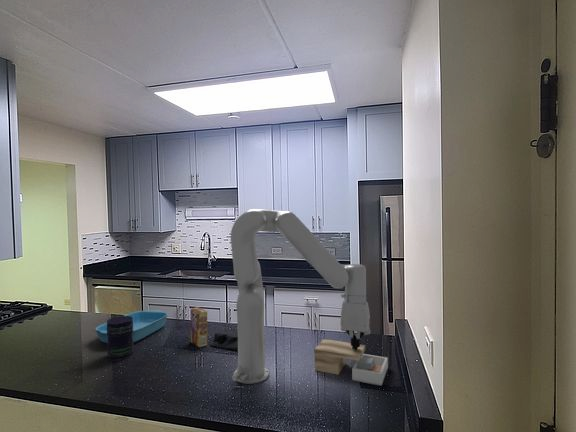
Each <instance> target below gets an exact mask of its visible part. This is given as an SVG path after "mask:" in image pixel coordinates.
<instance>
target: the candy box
mask: <svg viewBox="0 0 576 432" xmlns="http://www.w3.org/2000/svg"><path fill="white" fill-rule="evenodd" d="M190 342H191V344H193V345H195V346H196V347H198V348H202V347H206V346H207V347H208V311H207V310H205V309H203V308H201V307H193V308H190Z"/></svg>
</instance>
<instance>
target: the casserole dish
mask: <svg viewBox="0 0 576 432" xmlns="http://www.w3.org/2000/svg"><path fill="white" fill-rule="evenodd" d="M168 315H169V314H168V312H165V311H162V310H156V309H155V310H154V309H153V310H152V309H151V310H138V311H134V312H133V311H132V312H130V313H128V314H125V315H123V316H131V317H133V320H132V321H133V332H132V339H133V344H134V343H136V342H138V341H140V340H142V339H144V338H146V337H147V336H150V335H151V334H153V333H155V332H157V331H158V330H160V329H162V328H163V327H164V325H165V323H166V321H167V318H168ZM95 332H96V335H97V337H98V339H99V341H101V342H103V343H105V344H108V335H107V322H104V323H102V324H100V325H98V326H97V327H95Z"/></svg>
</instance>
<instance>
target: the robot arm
mask: <svg viewBox="0 0 576 432" xmlns="http://www.w3.org/2000/svg"><path fill="white" fill-rule="evenodd" d="M259 232H263V233H264V232H265V233H279V234H281V236H282V237H283V238H284V239H285V240H286V241H287V242H288V243H289V244H290V245H291V247H292V248H294V250H295V251H296V252H297V253H298V254H299V255H300V256H301V257H302V258H303V260H305V261H306V262H308V263H309V264H310V265H311V267H313V268H314V270H316V271H317V272H318V273H319V274H320V276H321V277H322V278H323V279H324V280H325V281H326V283H328V284H329V285H330V286H331V287H332V288H334V289H343V288H344V293H341V295H340V296H341V298H343V299H344V300H343V301H342V303H341V304H342V305H341V311H340V312H341V313H340V330H341V331H342V332H344V333H347V335H348V336H349V338H350V343H351V346H352V349H355V350H357V349H358V347H360V345H361V338H362V337H363V336H367V335H368V336H369V335H370V334H371V329H370V327H371V317H370V308H369V302H368V301H367V268H366V266H365V265H364V264H359V263H351V264H341V263H340V262H339V261H338V260H337V259H336V258H335V257H334V256H333V255H332V254H331V252H330V251H329V250H328V249H327V248H326V247H325V246H324V245H323V243H322V242H321V241H320V240H319V239H318V237H316V235H315V234H314V233H313V232H312V231H311V230H310V229H309V228H308V227H307V226H306V225H305V224H304V222H302V220H301V219H300V218H299V217H298V216H297V215H296V214H295V213H293V212H292V211H290V210H271V209H258V208H250V209H248V210H246V211H245V212H244V213H242V214H241V215H240V216H239V217H238V218H237V219H236V220H235V221H234V223H233V225H232V226H231V231H230V246H231V256H232V263H233V266H232V267H233V275H234V278H235V280H236V281H237V288H238V289H237V290H238V295H237V299H236V321H237V328H236V329H237V335H238V350H237V367H236V368H237V369H235V371H234V372H233V374H232V376H231V380H232V381H233V382H238V383H241V384H245V385H247V384H248V385H250V384H251V385H254V384H258V383H261V382H264V381H265V380H267V379H268V378H269V375H270V371H269V369H268V368H267V367H266V366H265V364H266V362H265V360H266V359H265V357H266V356H265V343H264V342H265V292H264V285H263V283H264V282H263V279H262V278H263V277H262V269H261V264H260V262H259V260H258V258H257V249H256V241H255V240H256V239H255V237H256V235H257V234H258V233H259ZM355 332H356V333H355Z"/></svg>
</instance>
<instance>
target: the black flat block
mask: <svg viewBox="0 0 576 432" xmlns="http://www.w3.org/2000/svg"><path fill="white" fill-rule="evenodd" d="M264 344H266V343H265V341H264ZM209 346H210V347H212V348H213V347H214V348H219V349H224V350H233V351H238V334H235V333H227V332H216V333H215V334H214V339H213V341H212V343H211V344H210V345H209Z"/></svg>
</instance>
